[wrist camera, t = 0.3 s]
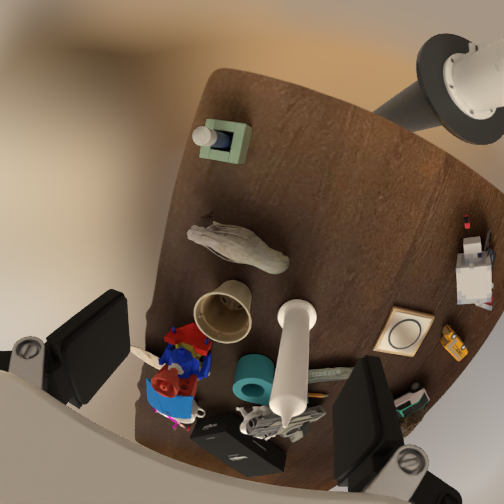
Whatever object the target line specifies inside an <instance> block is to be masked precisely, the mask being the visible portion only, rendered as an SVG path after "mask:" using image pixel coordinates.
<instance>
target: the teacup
mask: <svg viewBox="0 0 504 504" xmlns="http://www.w3.org/2000/svg"><path fill="white" fill-rule="evenodd" d="M198 410H201V411H203V412H204V414H203V415H202V416H201V415H199V414H198ZM205 415H206V412H205V411H204V410H203V409H202V408H200V407H198V406H197V403H196V402H195V400H194V399H193V405H192V414H191V419H181V418H173V417H171V418H173V419H174V420H176V421H179V422H181V423H187V424H188V423H193V422H194V420H195V418H196V416H197V417H204V416H205Z"/></svg>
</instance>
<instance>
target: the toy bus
mask: <svg viewBox="0 0 504 504" xmlns="http://www.w3.org/2000/svg"><path fill="white" fill-rule="evenodd" d="M442 332H443V334H444V336H443V337H442V338H441V339H440V341H441V343H442V345H443V347H444V348H445V349H446V350H447V351H448V352H449V353H450V354H451V355H452V356H453V357H454V358H455V359H456V360H457V361H460V360H461V359H463V358H464V357H465V356H466V355H467V353H468V351H467V348H466V344H464V343H463V342H462V338H461V337H459V336H458V335H457V334H456V333H455V332H454V331H453V330H452V326H451V325H445V326H444V327H443V331H442Z"/></svg>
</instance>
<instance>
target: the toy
mask: <svg viewBox="0 0 504 504" xmlns="http://www.w3.org/2000/svg"><path fill="white" fill-rule="evenodd" d="M464 222H465V229H468V228H470V222H469V215H464ZM466 235H467V232H466ZM490 238H491V232H490V228H489V230H488V234H487V238H486V242H485V245H484V250H485V251H481V240H480V236H479V237H471V238H464V241H463V246H464V253H460V254H458V255H457V264H456V276H457V300H458V304H470V303H475V304H476V305H477V306H480V307H482V308H485V309H488V310H492V306H491V303H492V300H493V297H492V292H491V289H492V288H493V285H494V284H493V283H491V273H492V269H493V265H494V261H495V257H496V253H495V252H494V251H493V250H492V249H491V248H490V247H489V250H488V251H487V249H488V246H489V242H490Z"/></svg>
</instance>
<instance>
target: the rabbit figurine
mask: <svg viewBox="0 0 504 504" xmlns="http://www.w3.org/2000/svg"><path fill="white" fill-rule="evenodd" d="M252 408H253V411H251V413H249V414H248V413H247V412H246V411H245V410H244V407H243V408H242V407H241V408H239V407H236V409H237V411H240V412H241V413H242V415H243V417H244V421H243V422H242V423H241V425H240V431H241V432H242V433H243V434H247V432H246V424H247V423H248V421H249V420H250V419H252V418H253V417H256V416H260V415H263V416H264V415H270V414H271V413H274V412H273V411H272V410H271V409H270V408H269V407H267V406H261V407H257V406H254V407H252ZM267 436H268V437H267V438H265V440H268V439H269V438H270V437H275V436H276V435H274V436H269V435H268V434H267ZM264 437H265V435H262V436H260V437H257V438H259V439H263V438H264Z"/></svg>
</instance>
